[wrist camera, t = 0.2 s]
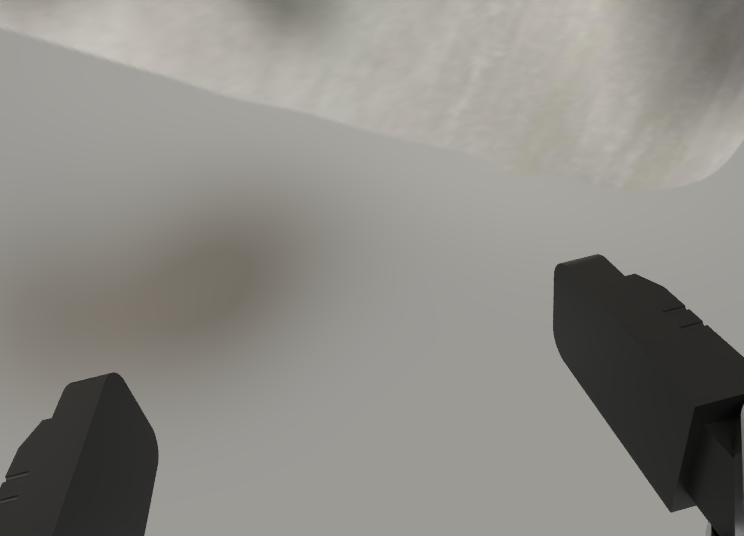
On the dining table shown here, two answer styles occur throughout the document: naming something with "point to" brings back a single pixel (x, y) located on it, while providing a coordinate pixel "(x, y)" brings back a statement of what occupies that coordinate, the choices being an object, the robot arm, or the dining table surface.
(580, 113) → the dining table surface
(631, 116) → the dining table surface
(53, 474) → the robot arm
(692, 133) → the dining table surface
